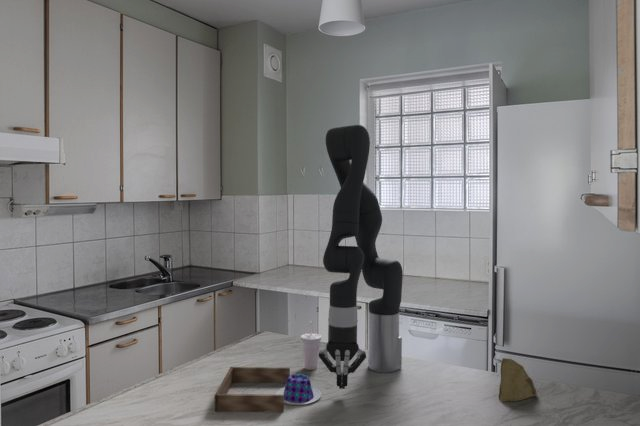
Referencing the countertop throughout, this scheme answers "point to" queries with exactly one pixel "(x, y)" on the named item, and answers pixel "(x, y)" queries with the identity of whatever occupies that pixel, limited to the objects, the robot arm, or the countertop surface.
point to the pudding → (299, 390)
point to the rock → (515, 382)
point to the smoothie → (311, 348)
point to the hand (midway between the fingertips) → (341, 387)
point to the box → (251, 400)
